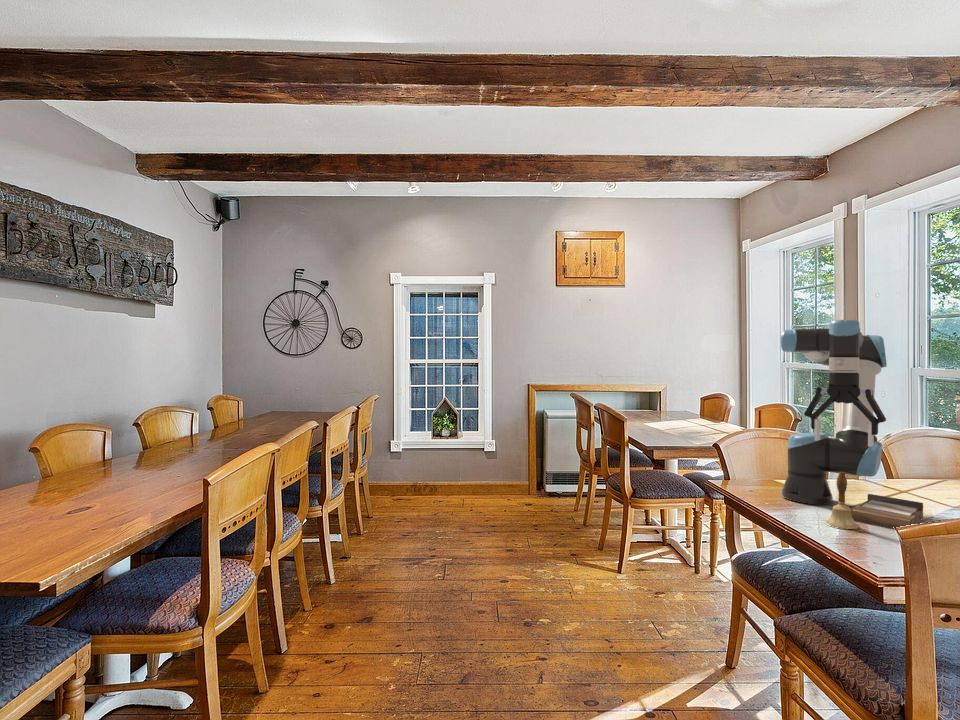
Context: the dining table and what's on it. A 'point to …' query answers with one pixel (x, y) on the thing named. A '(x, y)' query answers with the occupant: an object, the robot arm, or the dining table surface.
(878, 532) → the dining table surface
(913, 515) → the brown wooden display stand
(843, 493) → the hand bell
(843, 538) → the dining table surface
